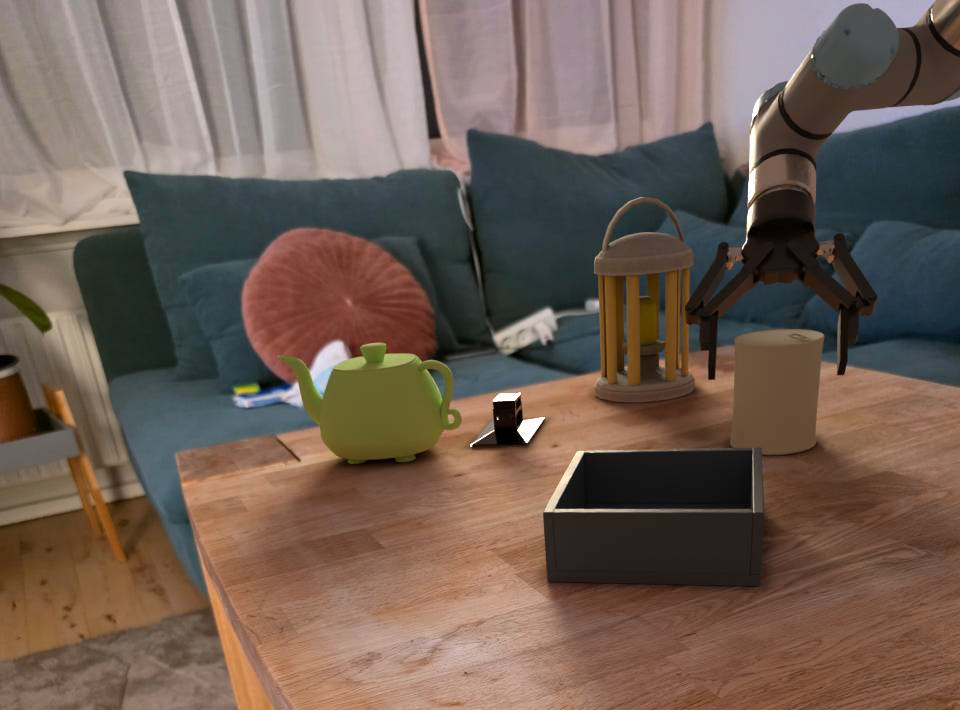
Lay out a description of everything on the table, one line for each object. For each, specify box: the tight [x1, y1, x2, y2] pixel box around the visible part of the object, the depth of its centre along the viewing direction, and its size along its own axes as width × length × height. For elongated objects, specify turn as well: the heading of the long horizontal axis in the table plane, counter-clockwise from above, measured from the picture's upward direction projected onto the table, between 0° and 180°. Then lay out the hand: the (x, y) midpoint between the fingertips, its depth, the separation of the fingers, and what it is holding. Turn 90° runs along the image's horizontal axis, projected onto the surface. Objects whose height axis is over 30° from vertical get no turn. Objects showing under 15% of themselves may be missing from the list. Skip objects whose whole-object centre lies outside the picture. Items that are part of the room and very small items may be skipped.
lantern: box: [593, 196, 696, 403], centre depth 122 cm, size 14×14×25 cm
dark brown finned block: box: [470, 392, 546, 448], centre depth 113 cm, size 12×7×5 cm, turn 166°
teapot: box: [276, 342, 463, 465], centre depth 109 cm, size 22×15×13 cm
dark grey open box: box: [542, 447, 765, 587], centre depth 76 cm, size 17×17×6 cm
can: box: [729, 328, 825, 456], centre depth 97 cm, size 9×9×12 cm
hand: (775, 371), depth 97 cm, fingers open, 13 cm apart
